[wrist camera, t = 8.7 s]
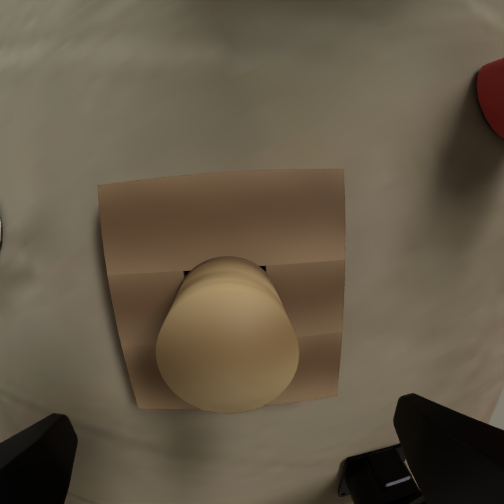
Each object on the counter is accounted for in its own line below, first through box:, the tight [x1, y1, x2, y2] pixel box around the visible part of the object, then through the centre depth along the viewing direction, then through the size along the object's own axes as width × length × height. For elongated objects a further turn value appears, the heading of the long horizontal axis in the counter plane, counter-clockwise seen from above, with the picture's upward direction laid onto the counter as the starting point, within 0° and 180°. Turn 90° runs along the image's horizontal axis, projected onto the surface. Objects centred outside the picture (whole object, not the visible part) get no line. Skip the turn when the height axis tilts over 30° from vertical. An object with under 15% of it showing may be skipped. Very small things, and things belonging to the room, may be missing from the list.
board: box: [97, 169, 345, 409], centre depth 17 cm, size 13×12×3 cm
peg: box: [156, 256, 299, 413], centre depth 14 cm, size 5×5×8 cm
